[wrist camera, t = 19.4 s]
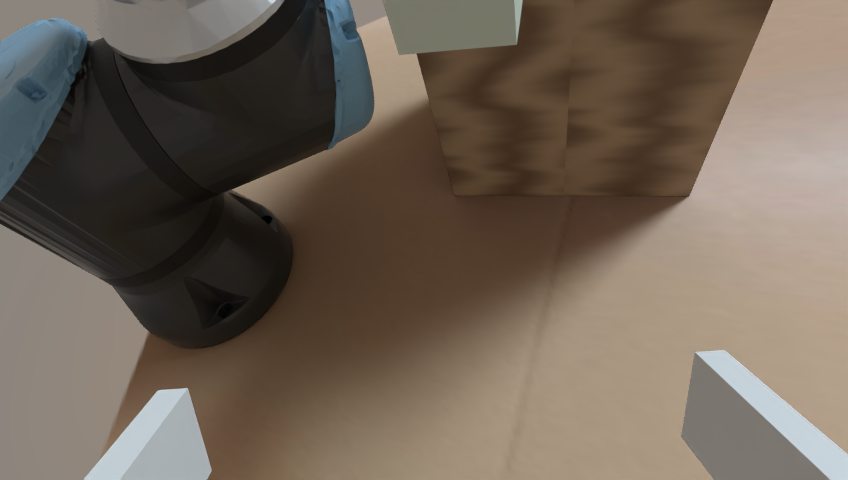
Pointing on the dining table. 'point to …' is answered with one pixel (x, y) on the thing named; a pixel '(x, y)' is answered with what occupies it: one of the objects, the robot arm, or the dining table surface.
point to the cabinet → (592, 97)
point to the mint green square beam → (452, 24)
